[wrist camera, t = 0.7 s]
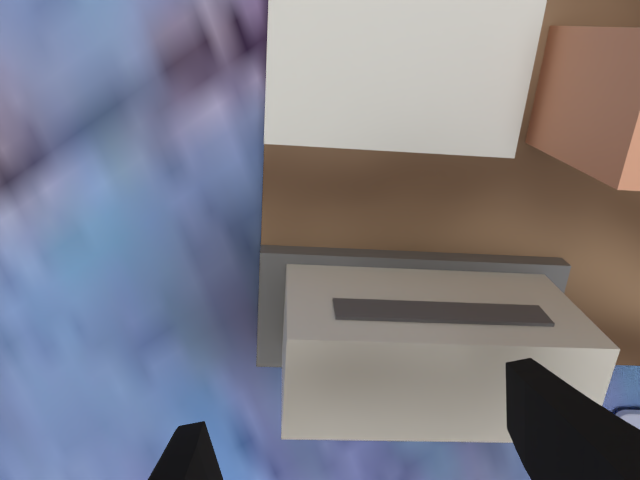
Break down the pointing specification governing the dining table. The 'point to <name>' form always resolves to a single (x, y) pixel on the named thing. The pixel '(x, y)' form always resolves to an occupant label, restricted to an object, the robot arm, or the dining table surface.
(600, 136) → the terracotta block
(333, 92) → the mat
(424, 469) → the dining table surface
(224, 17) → the dining table surface
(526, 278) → the mounted unit
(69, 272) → the dining table surface
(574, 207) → the service board
